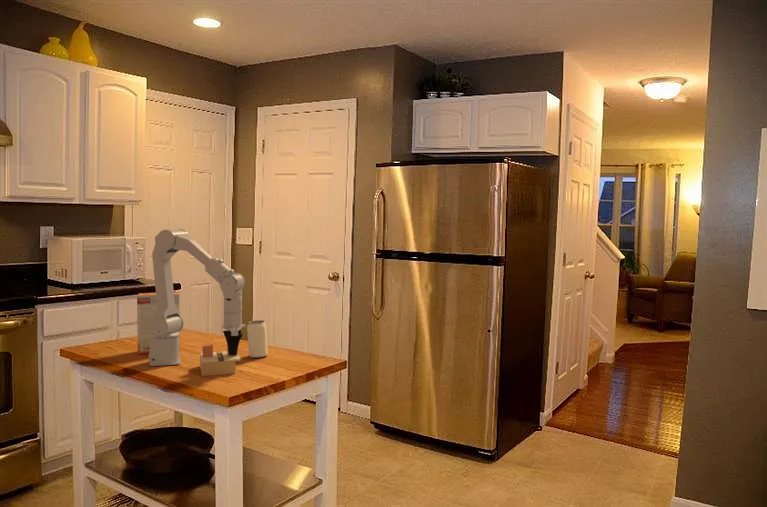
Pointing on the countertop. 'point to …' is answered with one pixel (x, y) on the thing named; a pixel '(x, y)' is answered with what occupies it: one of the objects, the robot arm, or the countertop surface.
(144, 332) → the cracker box
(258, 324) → the can
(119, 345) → the countertop surface
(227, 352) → the right flap
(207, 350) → the left flap
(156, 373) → the countertop surface
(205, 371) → the carton
